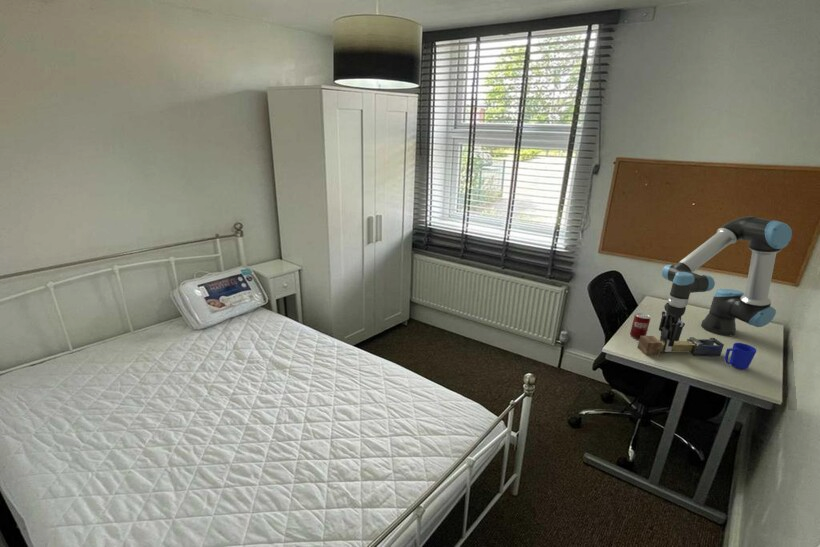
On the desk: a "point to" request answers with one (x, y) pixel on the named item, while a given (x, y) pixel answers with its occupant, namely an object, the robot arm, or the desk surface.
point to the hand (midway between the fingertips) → (664, 348)
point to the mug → (740, 355)
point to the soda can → (640, 325)
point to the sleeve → (706, 347)
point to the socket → (649, 345)
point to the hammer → (676, 342)
